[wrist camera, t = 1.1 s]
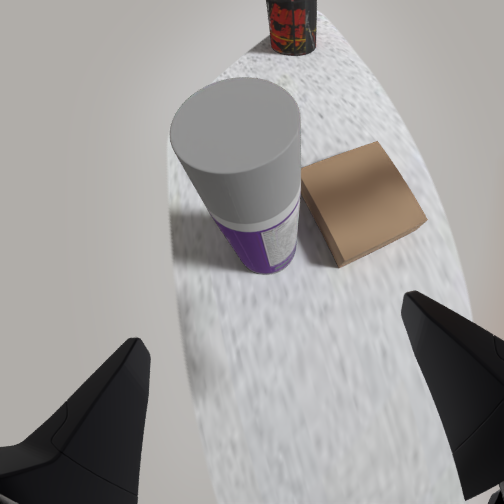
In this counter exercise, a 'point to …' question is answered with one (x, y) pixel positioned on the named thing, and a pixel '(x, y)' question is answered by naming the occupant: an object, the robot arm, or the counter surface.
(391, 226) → the base block
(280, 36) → the deodorant
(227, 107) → the container
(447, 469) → the counter surface
